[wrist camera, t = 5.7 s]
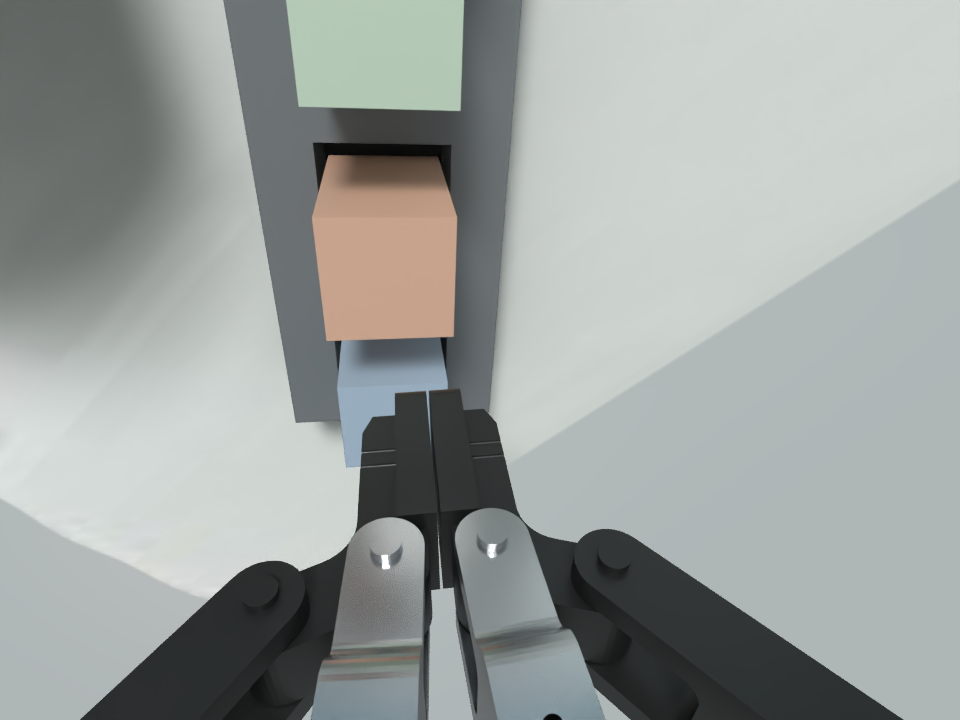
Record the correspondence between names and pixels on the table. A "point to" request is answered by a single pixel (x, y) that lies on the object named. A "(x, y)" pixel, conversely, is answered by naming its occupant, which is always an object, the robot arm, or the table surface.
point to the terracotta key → (385, 248)
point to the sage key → (377, 53)
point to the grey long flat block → (302, 131)
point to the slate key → (383, 381)
